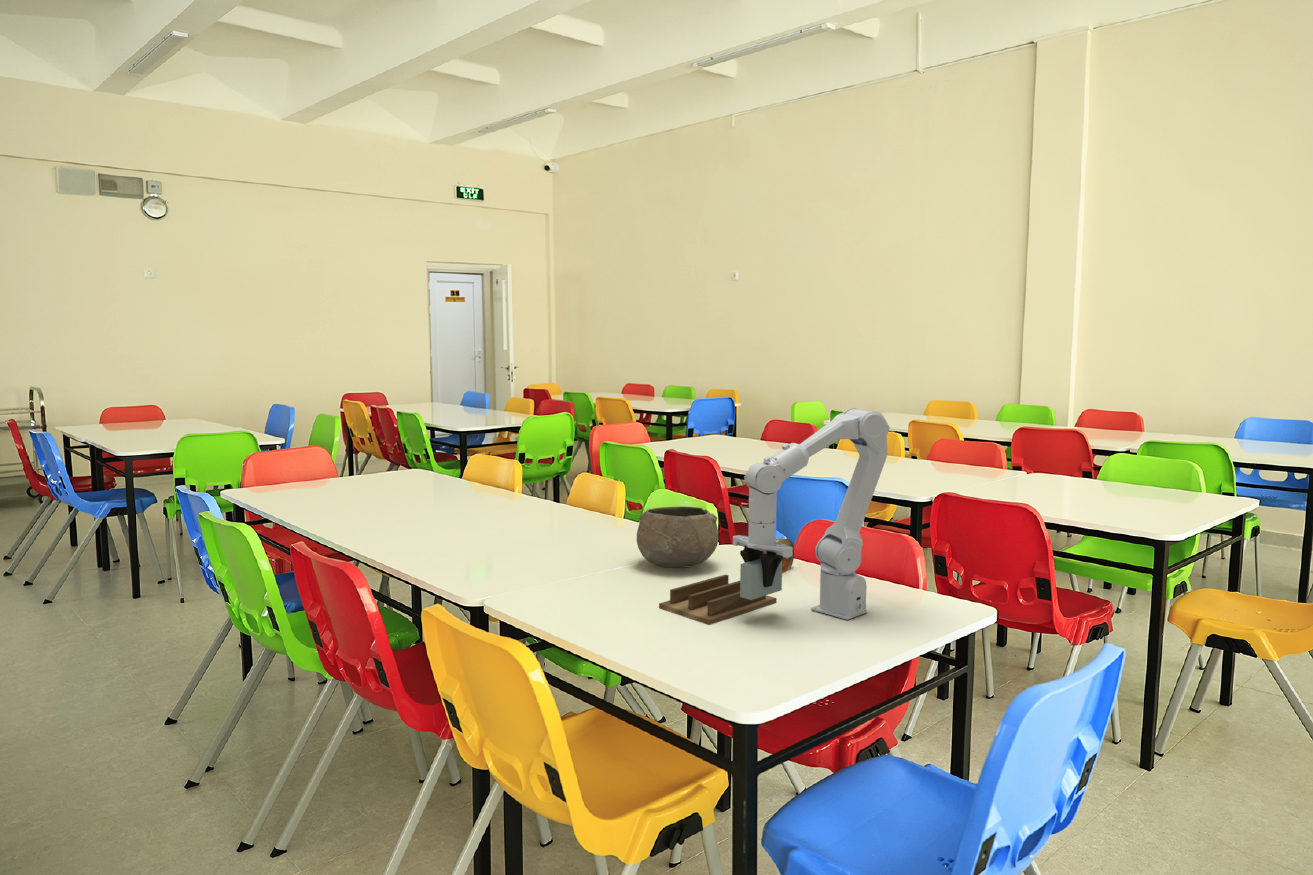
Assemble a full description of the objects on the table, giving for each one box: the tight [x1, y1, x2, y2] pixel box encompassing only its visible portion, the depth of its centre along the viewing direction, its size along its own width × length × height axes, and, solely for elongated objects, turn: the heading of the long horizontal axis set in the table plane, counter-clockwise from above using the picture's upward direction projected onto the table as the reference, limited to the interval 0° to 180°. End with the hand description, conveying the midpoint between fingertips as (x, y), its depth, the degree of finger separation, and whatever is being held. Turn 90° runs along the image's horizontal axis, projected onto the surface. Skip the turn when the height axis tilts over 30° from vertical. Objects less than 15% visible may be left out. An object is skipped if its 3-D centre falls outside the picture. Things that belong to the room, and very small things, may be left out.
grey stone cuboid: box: [739, 559, 783, 600], centre depth 178 cm, size 3×10×7 cm, turn 133°
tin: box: [763, 537, 795, 574], centre depth 214 cm, size 15×3×8 cm, turn 143°
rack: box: [658, 574, 778, 626], centre depth 188 cm, size 15×22×4 cm
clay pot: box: [636, 506, 719, 569], centre depth 219 cm, size 21×21×15 cm
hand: (761, 584), depth 178 cm, fingers closed on grey stone cuboid, 3 cm apart
